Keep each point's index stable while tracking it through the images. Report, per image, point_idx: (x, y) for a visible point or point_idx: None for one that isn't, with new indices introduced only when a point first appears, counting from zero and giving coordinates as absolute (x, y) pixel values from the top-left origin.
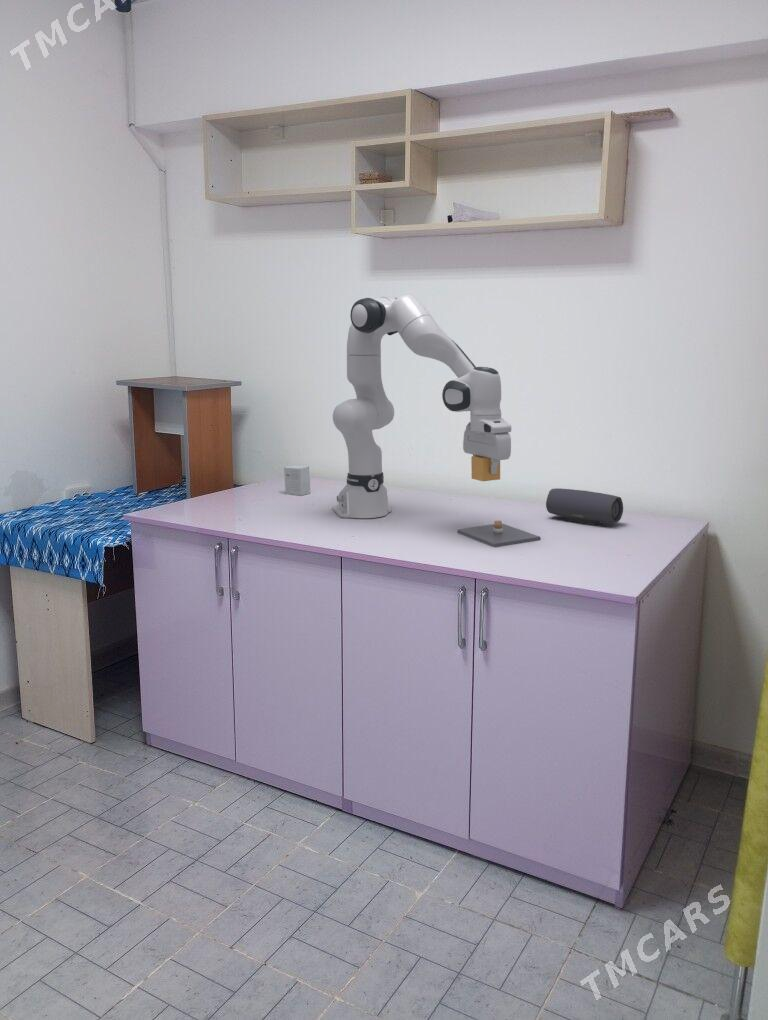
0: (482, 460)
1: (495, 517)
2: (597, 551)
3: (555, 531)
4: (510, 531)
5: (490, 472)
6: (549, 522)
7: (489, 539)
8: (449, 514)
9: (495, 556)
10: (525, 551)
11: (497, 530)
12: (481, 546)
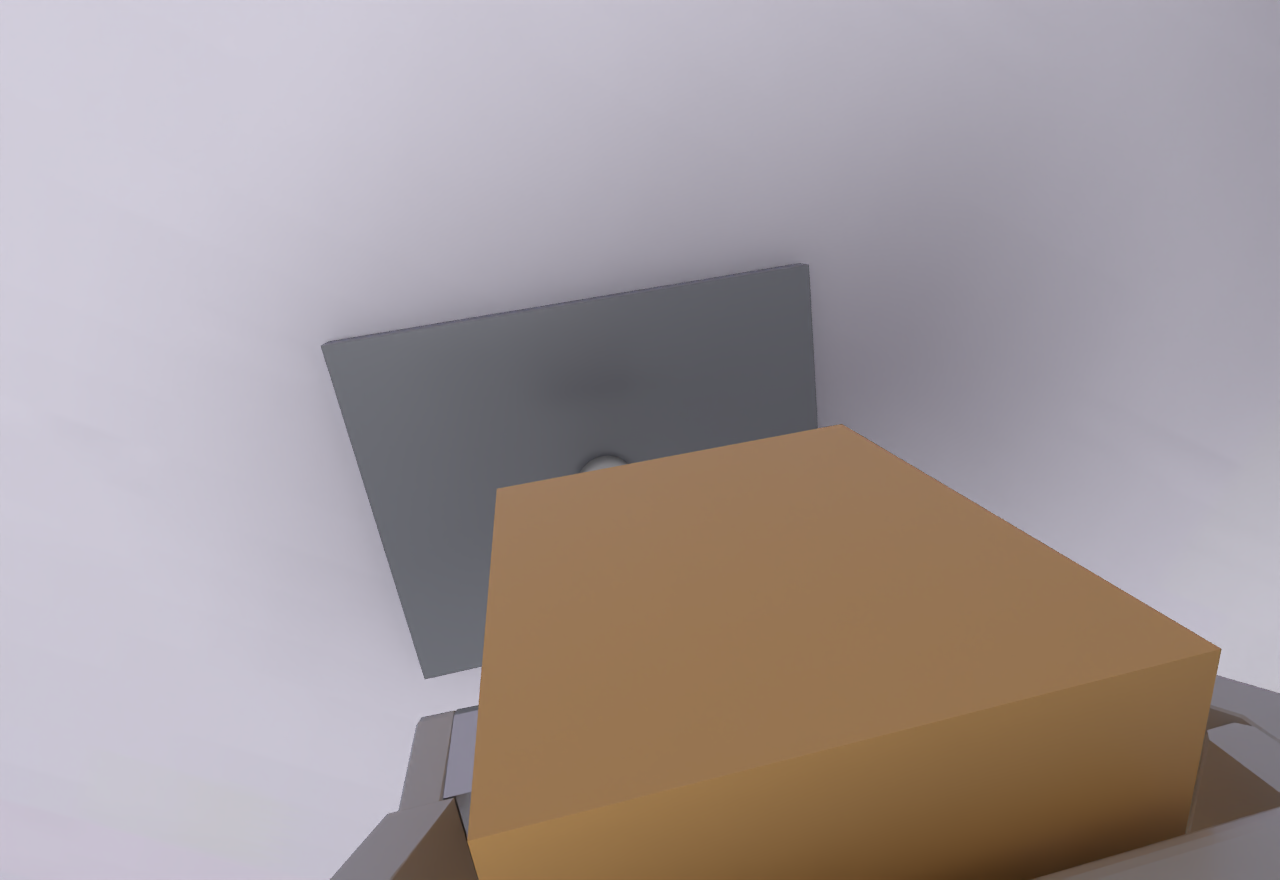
0: (477, 788)
1: None
2: (85, 847)
3: None
4: None
5: (464, 712)
6: None
7: (453, 361)
8: (1217, 406)
9: (56, 240)
10: (166, 490)
11: None
12: (377, 264)
